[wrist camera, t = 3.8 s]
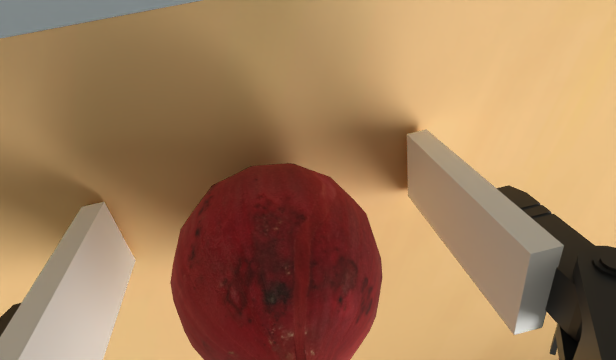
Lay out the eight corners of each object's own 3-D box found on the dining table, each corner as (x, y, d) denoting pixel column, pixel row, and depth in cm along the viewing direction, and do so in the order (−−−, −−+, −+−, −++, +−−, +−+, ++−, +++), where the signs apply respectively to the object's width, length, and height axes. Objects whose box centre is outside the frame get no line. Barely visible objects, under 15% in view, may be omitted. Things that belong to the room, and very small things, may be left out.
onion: (172, 132, 12) (94, 349, 5) (345, 118, 13) (473, 290, 6) (201, 267, 15) (175, 520, 8) (341, 248, 16) (424, 464, 9)
